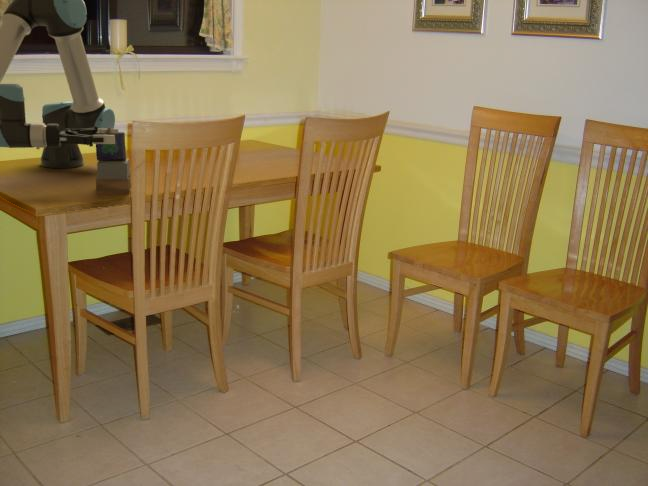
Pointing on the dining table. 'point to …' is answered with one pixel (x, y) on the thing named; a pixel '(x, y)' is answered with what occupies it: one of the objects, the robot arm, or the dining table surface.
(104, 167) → the tower top
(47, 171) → the dining table surface
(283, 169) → the dining table surface
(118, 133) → the flask
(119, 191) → the tower base
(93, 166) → the dining table surface
